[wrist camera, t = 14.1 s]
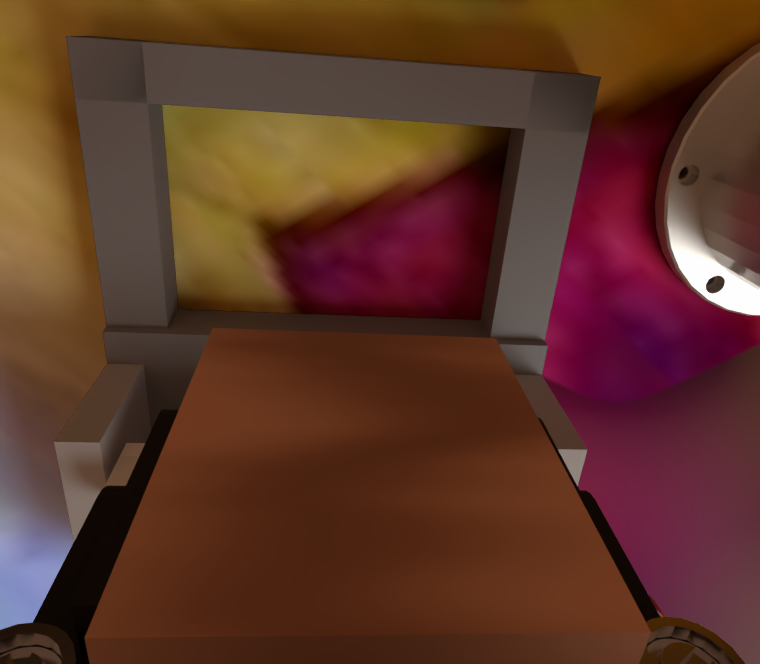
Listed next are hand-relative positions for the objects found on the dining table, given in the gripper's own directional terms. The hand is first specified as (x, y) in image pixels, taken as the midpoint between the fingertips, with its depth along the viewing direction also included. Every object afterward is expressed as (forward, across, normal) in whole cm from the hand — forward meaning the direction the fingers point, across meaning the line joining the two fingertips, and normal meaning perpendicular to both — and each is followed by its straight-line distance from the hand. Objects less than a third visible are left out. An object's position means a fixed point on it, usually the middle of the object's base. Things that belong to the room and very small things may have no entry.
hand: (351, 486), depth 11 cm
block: (+1, 0, 0) cm, 1 cm away
